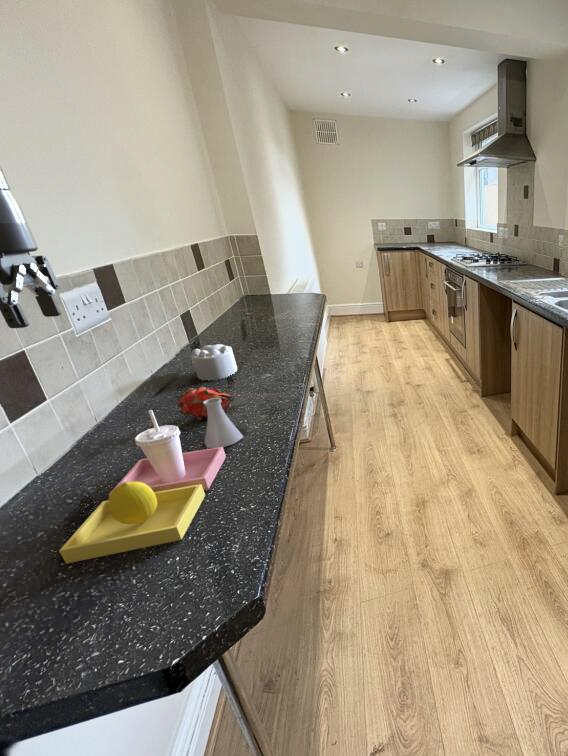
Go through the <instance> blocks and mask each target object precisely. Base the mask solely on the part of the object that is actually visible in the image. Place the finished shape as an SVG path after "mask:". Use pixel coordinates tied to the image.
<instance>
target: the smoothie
mask: <svg viewBox="0 0 568 756" xmlns="http://www.w3.org/2000/svg"><path fill="white" fill-rule="evenodd" d="M148 414H149V417H150V419H151V422H152V425H153V427H152V428H149V429H146V430H144V431H142V432H140V433H139V434H137V435H136V436H135V437H134V441H135V445H136V446H137V447H140V449H141V451H142V452H143V454H144V456H145V458H148V460H149V462H150V463H151V465H152V467H153V468H154V470H155V471H156V473H157V475H158V476H159V478H160V479H161V481H162V482H163V483H171V482H175V481H178V480H180V479H182V478H183V477H184V476H185V475H186V472H185V467H184V461H183V456H182V453H183V451H182V445H181V440H180V439H181V438H180V434H181V431H180V428H179V427H178V426H177V425H172V424H170V425H169V424H168V425H167V424H166V425H160V426H159V425H158V422H157V419H156V416H155V413H154V412H153V410H152V409H149V410H148Z"/></svg>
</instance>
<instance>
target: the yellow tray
mask: <svg viewBox="0 0 568 756" xmlns="http://www.w3.org/2000/svg"><path fill="white" fill-rule="evenodd" d="M154 493H155V496H156V499H157V507H156V510H155V512H154V513H153V515H152V516H151V517H150V518H149V519H147V520H146V521H145V522H144V523H143V524H133V525H128V524H123V523H120V522H118V521H117V520H116V519H114V517H113V516H112V514H111V513H110V510H109V506H108V500H103V501H102V502H101V503H100V504H99V505H98V506H97V507H96V509H94V510H93V511H92V512H91V514H90V515H89V516H88V517H87V518H86V519H85V521H84V522H83V523H82V524H81V525H80V526H79V527H78V529H77V530H76V531H75V532H74V533H73V534H72V535H71V537H70V538H69V539H68V540H67V541H66V542H65V544H63V546H62V547H61V548H60V549H59V551H58V552H59V553H60V555H61V557H62V558H63V561H64V562H65V564H66V565H67V564H71V563H75V562H81V561H86V560H90V559H96V558H101V557H106V556H111V555H115V554H121V553H125V552H129V551H130V552H131V551H133V550H134V551H135V550H139V549H145V548H148V547H153V546H157V545H158V546H159V545H163V544H168V543H171V542H177V541H182V540H183V538H184V536H185V535H186V533H187V531H188V529H189V527H190V525H191V523H192V521H193V519H194V517H195V515H196V514H197V512H198V510H199V508H200V506H201V504H202V503H203V501H204V499H205V497H206V493H205V490H203V487H202V484H199V485H193V486H187V487H181V488H176V489H170V490H164V491H159V492H154Z"/></svg>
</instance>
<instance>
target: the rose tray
mask: <svg viewBox="0 0 568 756" xmlns="http://www.w3.org/2000/svg"><path fill="white" fill-rule="evenodd" d="M182 456H183V461H184V467H185V472H186V475H185V476H184V477H183V478H182V479H180V480H178V481H175V482H171V483H163V482H162V481H161V479H160V478H159V476H158V475H157V473H156V471H155V470H154V468H153V467H152V465H151V463H150V462H149V460H148V458H147V457H145V458H142V459H138V461H137V462H136V463H135V464H134V465H133V467H132V468H130V469H129V470H128V472H127V473H126V474H125V476H124V477H123V478H122V479H121V480H120V481H119V482H118V483H117V484H116V486H114V488H113V489H112V490H111V491H110V492H109V493H108V497H109V496H110V494H111V493H112V491H113V490H114V489H115V488H117V487H118V486H119V485H121V484H122V483H123V482H141V483H144V484H146V485H147V486H149V487H150V488H151V489H152V490H153V492H159V491H164V490H170V489H176V488H181V487H187V486H193V485H199V484H202V487H203V490H204V491H207V490H209V489H210V488H211V486H212V484H213V482H214V481H215V478H216V477H217V475H218V472H219V471H220V468H221V467H222V465H223V464H224V462H225V460H226V458H227V456H226V452H225V449H224V447H218V448H206V449H205V448H204V449H198V450H193V451H187V452H182Z"/></svg>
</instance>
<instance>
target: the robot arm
mask: <svg viewBox="0 0 568 756" xmlns="http://www.w3.org/2000/svg"><path fill="white" fill-rule="evenodd" d="M38 250H39V247H38V244H37V242H36V240H35V238H34V235H33V232H32V230H31V228H30V226H29V224H28V221H27V218H26V216H25V214H24V212H23V210H22V208H21V204H19V202H18V200H17V198H16V197H15V195H14V194H13V192H12V190H11V187H10V184H9V182H8V179H7V178H6V175H5V173H4V171H3V168H2V167H1V165H0V313H1V315H2V317H3V319H4V321H5V323H6V325H7V327H8V328H11V329H24V328H27V327H29V325H30V324H29V322H28V319H27V316H26V314H25V313H24V311H23V308H22V306H21V305H20V304H18V303H19V294H20V293H22V292H23V290H24V288H26V289H27V290H29V291H30V292H31V293H32V294H33V295H35V296H34V297H35V300H36V302H37V304H38V306H39V309H40V311H41V314H42V315H43V316H44V317H46V318H50V317H52V318H53V317H59V316H61V315H62V311H61V309H60V307H59V305H58V303H57V300H56V298H55V294H56V290H60V289H61V285H60V283H59V281H58V279H57V276H56V275H55V272H54V270H53V268H52V265H51V264H50V262H49V260H48V258H47V256H46V255H31V253H32V252H36V251H38Z"/></svg>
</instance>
